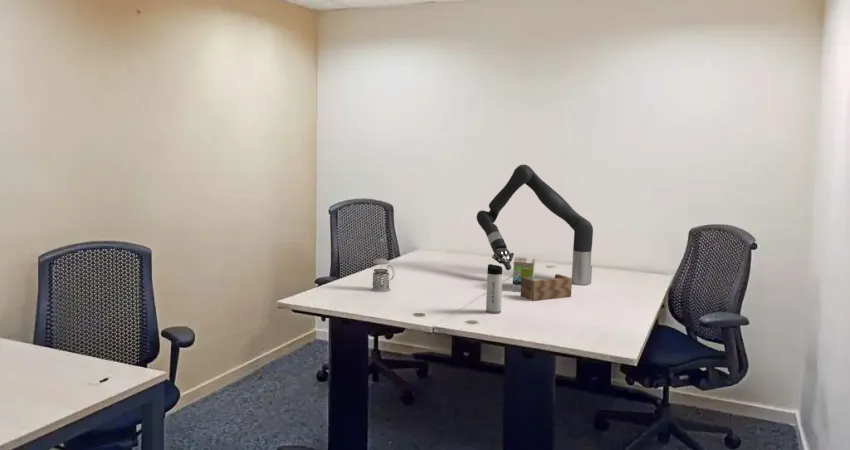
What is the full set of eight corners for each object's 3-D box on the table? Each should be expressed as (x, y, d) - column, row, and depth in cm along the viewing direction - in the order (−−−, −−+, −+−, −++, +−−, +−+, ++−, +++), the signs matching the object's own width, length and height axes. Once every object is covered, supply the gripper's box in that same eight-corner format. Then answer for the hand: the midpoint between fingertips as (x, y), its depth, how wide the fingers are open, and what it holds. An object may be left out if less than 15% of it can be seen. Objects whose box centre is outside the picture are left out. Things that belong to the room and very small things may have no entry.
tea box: (532, 292, 308) (534, 262, 306) (511, 291, 310) (513, 261, 308) (533, 286, 323) (535, 257, 321) (513, 285, 325) (514, 256, 323)
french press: (375, 287, 313) (376, 236, 310) (397, 289, 309) (398, 238, 306) (367, 291, 304) (367, 239, 300) (389, 293, 300) (390, 240, 297)
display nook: (557, 292, 310) (558, 274, 309) (571, 296, 301) (572, 278, 300) (520, 296, 300) (521, 277, 299) (533, 301, 291) (534, 281, 290)
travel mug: (492, 309, 275) (494, 263, 272) (503, 312, 270) (505, 265, 267) (482, 311, 271) (484, 264, 269) (493, 314, 266) (495, 267, 263)
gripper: (489, 238, 330) (501, 266, 321) (510, 237, 336) (523, 264, 327) (483, 247, 335) (495, 274, 326) (504, 245, 341) (516, 272, 332)
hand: (509, 269), depth 326 cm, fingers closed
